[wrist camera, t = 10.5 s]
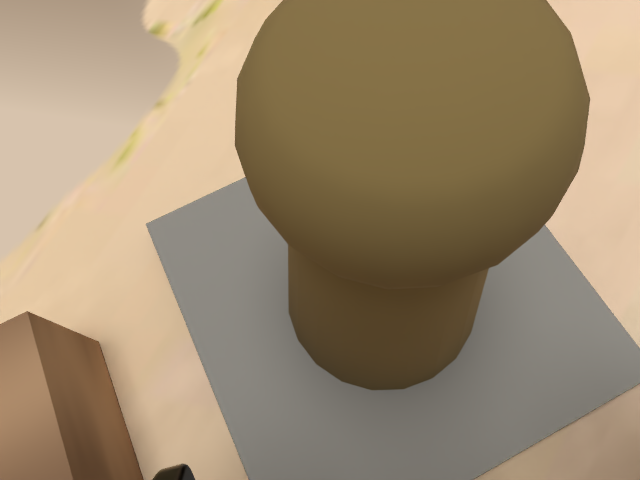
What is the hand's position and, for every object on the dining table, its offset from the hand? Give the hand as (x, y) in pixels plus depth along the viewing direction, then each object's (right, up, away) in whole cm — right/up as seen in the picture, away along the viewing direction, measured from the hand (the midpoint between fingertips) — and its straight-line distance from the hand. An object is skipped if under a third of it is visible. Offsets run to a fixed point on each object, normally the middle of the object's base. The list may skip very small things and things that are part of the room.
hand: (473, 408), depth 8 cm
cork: (0, +1, +9) cm, 9 cm away
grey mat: (0, +1, +9) cm, 9 cm away
